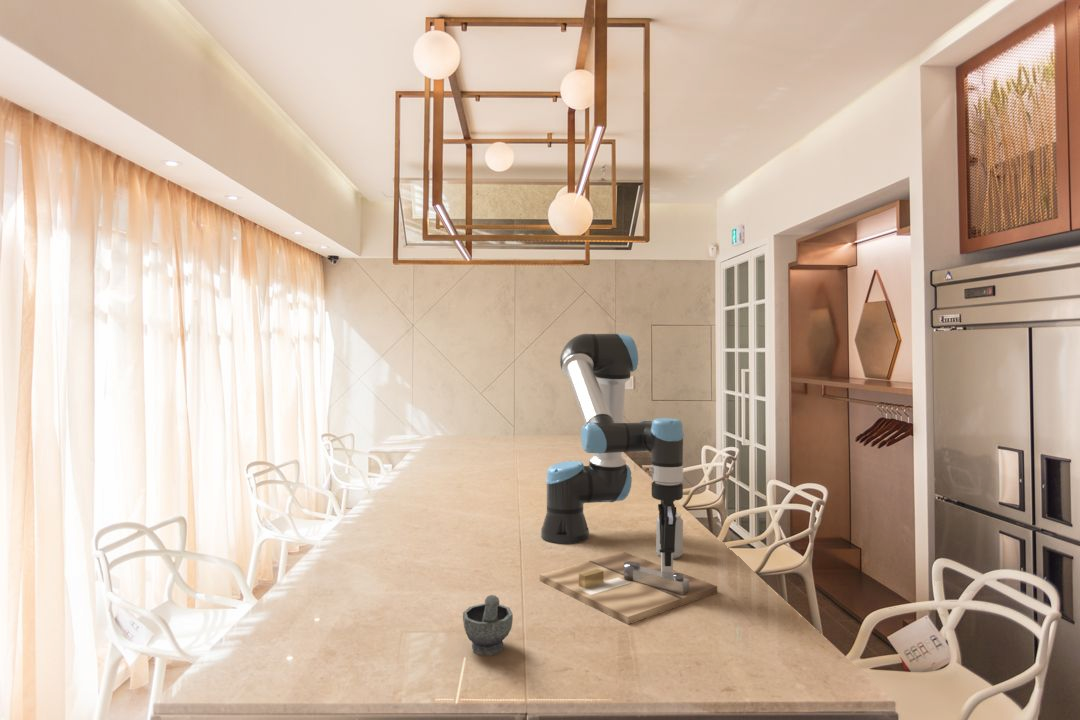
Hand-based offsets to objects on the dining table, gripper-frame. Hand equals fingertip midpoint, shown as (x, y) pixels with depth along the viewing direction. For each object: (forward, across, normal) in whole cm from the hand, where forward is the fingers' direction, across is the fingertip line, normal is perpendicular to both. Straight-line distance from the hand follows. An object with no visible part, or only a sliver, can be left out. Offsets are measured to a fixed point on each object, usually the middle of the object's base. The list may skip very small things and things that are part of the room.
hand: (667, 577), depth 152 cm
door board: (+3, -1, -10) cm, 10 cm away
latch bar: (+1, +1, -3) cm, 4 cm away
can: (+4, -26, +4) cm, 27 cm away
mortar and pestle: (+3, +34, -39) cm, 52 cm away
